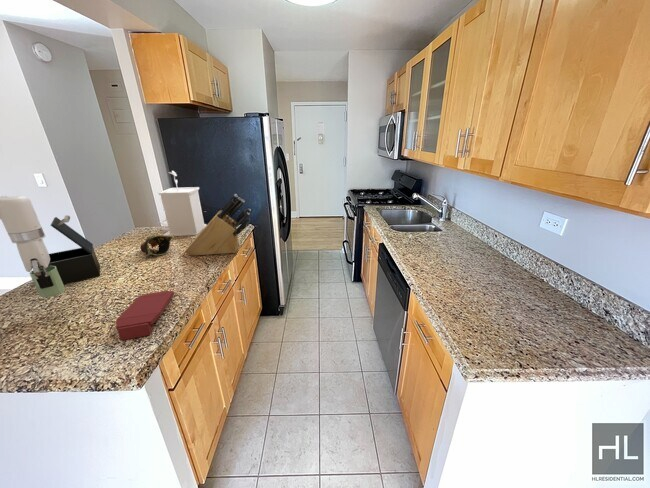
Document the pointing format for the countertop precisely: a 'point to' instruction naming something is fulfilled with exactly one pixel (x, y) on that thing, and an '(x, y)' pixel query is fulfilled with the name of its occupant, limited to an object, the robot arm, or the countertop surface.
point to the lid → (71, 233)
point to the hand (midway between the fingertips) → (48, 282)
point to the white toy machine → (182, 210)
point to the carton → (142, 314)
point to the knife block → (221, 231)
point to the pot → (156, 240)
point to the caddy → (75, 265)
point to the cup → (56, 281)
